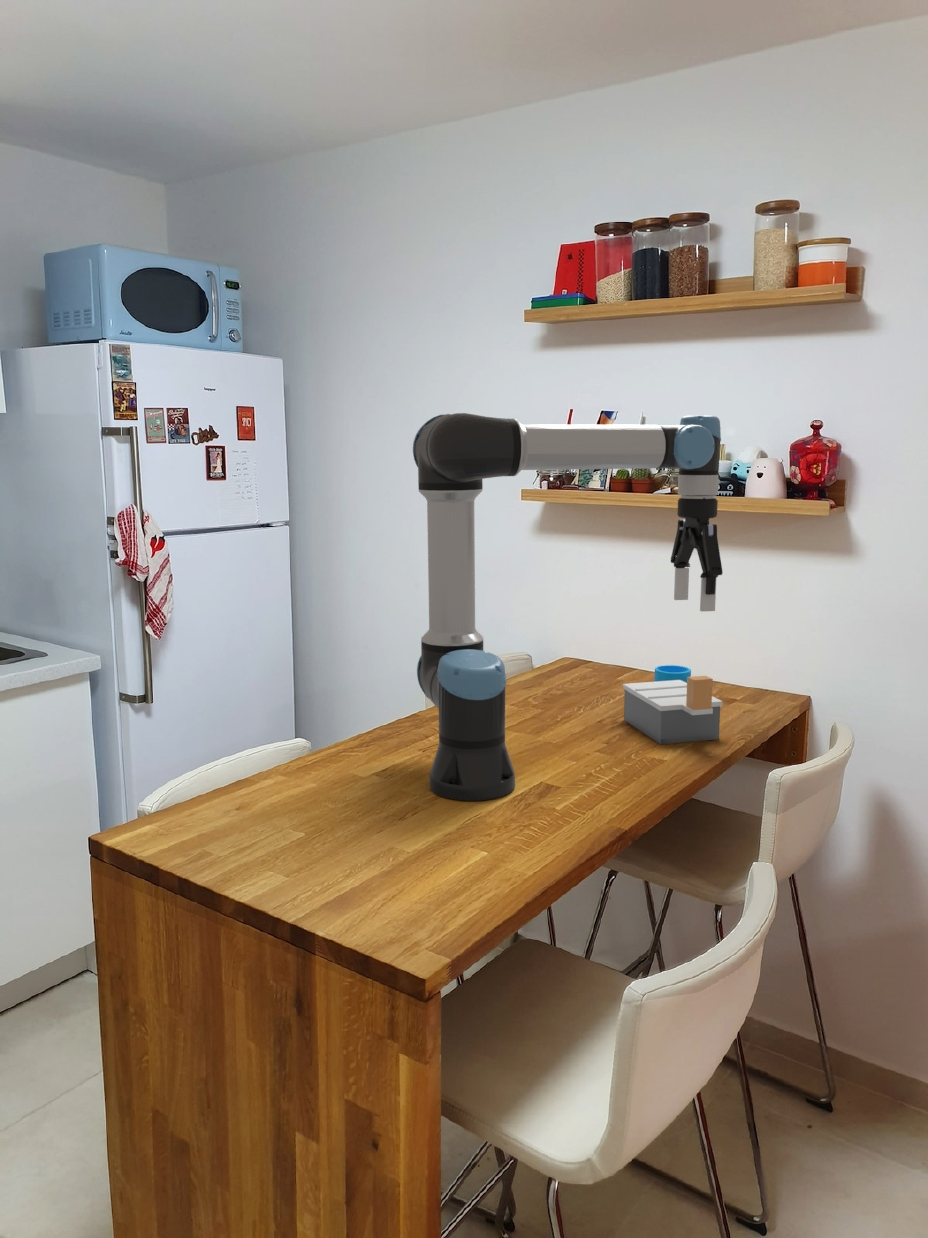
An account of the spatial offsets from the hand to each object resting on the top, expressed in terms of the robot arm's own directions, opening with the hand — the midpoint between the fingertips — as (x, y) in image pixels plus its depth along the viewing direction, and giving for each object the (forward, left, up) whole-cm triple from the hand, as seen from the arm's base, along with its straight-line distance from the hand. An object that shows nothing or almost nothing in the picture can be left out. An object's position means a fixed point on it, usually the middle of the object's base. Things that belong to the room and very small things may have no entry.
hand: (693, 605), depth 189 cm
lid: (0, +6, -21) cm, 22 cm away
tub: (0, +9, -28) cm, 29 cm away
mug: (+11, +29, -28) cm, 42 cm away
